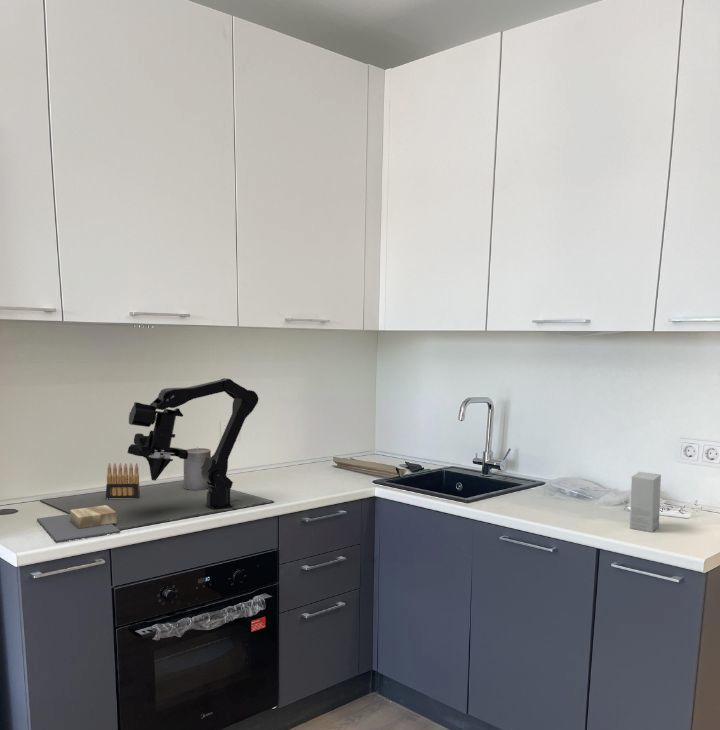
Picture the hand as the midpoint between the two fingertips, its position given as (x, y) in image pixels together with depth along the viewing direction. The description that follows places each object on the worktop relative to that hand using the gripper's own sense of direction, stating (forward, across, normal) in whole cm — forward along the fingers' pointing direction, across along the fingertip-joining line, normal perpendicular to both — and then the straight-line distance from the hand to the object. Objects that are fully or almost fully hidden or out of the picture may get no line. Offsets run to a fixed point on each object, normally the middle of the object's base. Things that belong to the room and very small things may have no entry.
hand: (153, 480), depth 189 cm
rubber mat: (+15, +18, -6) cm, 24 cm away
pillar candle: (+6, -36, -18) cm, 40 cm away
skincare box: (-11, -74, +126) cm, 147 cm away
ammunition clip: (+11, -10, -25) cm, 29 cm away
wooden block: (+11, +10, -4) cm, 15 cm away
